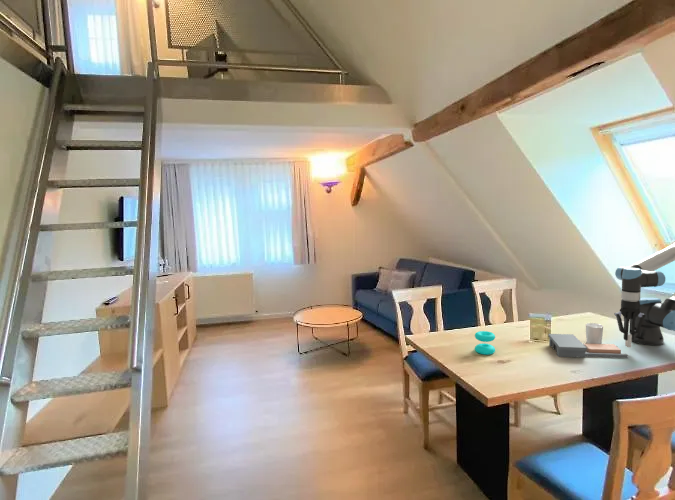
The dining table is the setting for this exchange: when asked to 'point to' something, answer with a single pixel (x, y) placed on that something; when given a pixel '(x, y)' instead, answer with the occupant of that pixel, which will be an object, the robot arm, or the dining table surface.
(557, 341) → the overhang dock
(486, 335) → the donuts
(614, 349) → the salmon pink tile
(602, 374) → the dining table surface
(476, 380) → the dining table surface
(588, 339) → the white cup
